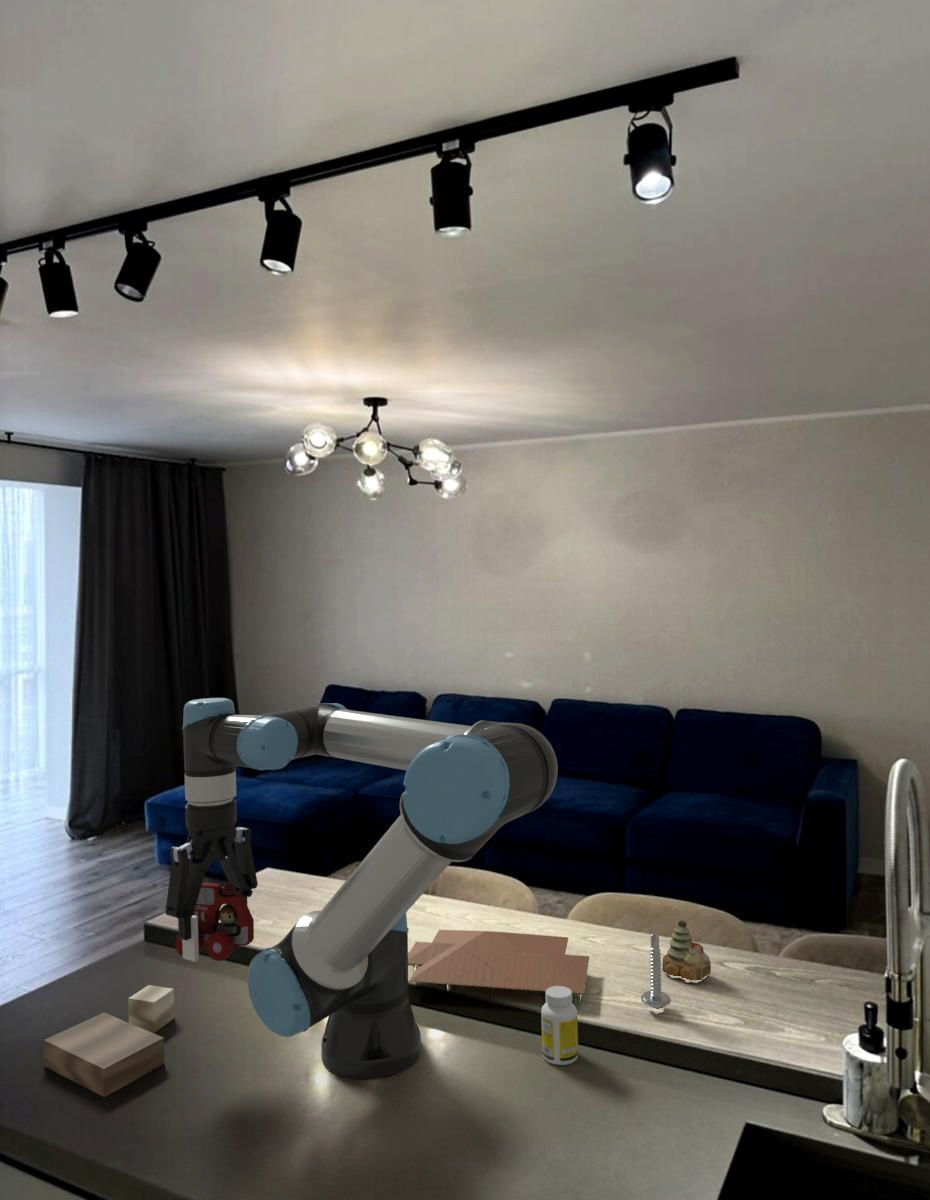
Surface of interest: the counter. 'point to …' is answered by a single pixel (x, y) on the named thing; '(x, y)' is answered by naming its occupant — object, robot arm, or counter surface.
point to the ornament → (686, 956)
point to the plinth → (104, 1053)
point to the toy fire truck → (233, 919)
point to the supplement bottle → (559, 1027)
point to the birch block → (151, 1008)
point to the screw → (655, 978)
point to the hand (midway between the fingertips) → (215, 948)
